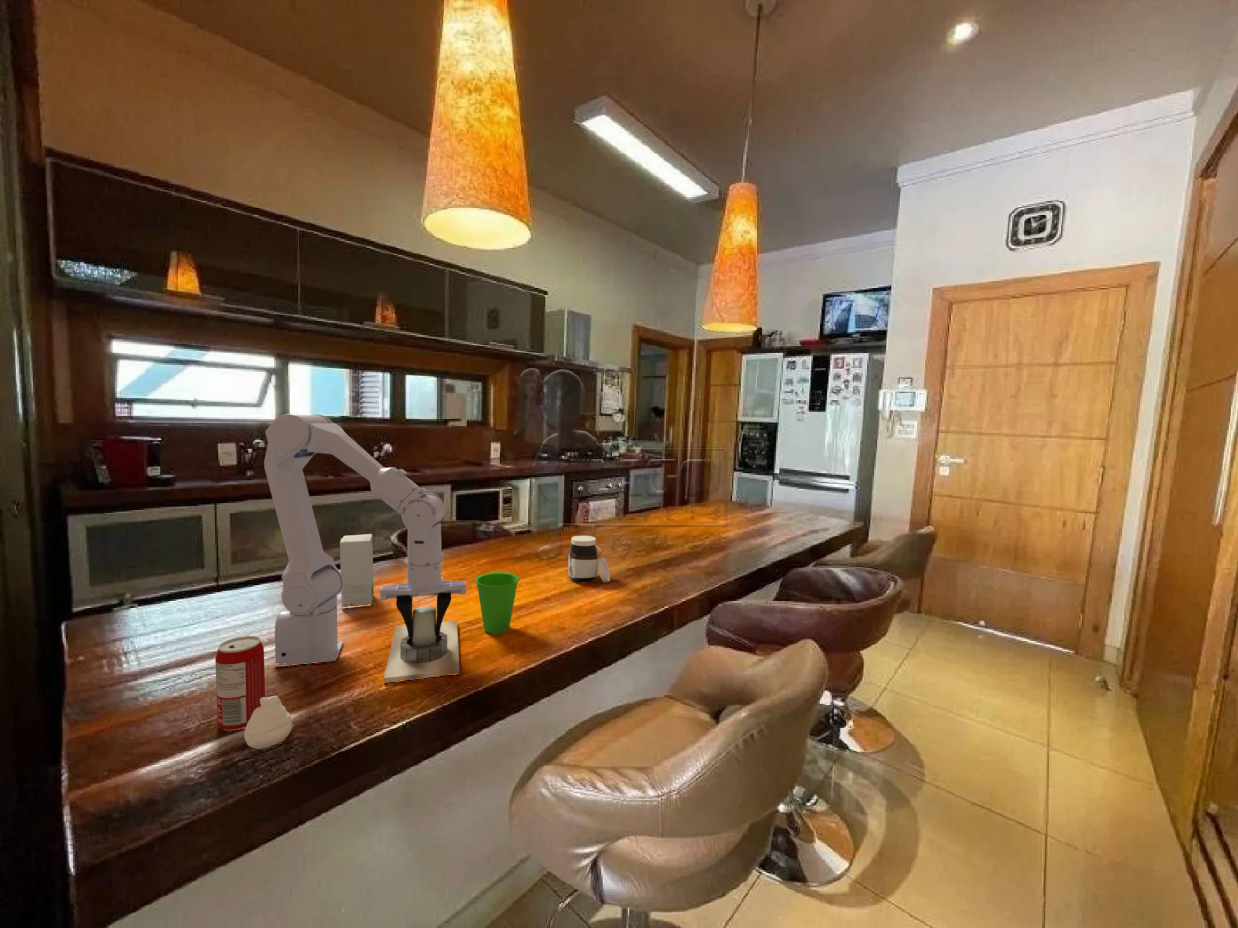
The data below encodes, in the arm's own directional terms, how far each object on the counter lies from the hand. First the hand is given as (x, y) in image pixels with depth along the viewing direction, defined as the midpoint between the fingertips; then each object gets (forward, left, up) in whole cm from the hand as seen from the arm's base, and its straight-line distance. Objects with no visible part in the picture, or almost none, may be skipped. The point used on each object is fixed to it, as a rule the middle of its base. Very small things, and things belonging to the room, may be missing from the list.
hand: (424, 634), depth 94 cm
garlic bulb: (-19, -20, -5) cm, 28 cm away
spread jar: (+42, +38, -5) cm, 57 cm away
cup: (+14, +10, -5) cm, 18 cm away
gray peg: (0, 0, -2) cm, 3 cm away
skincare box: (-16, +33, -5) cm, 37 cm away
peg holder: (0, +3, -5) cm, 5 cm away
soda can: (-24, -14, -5) cm, 28 cm away
